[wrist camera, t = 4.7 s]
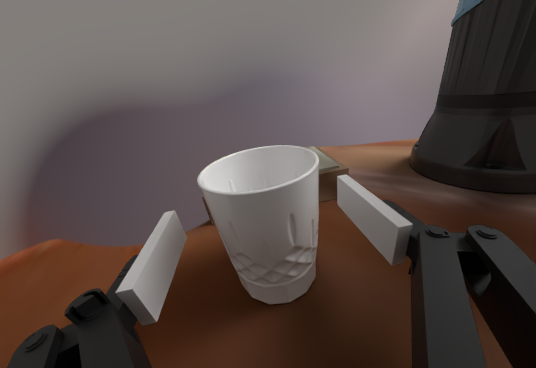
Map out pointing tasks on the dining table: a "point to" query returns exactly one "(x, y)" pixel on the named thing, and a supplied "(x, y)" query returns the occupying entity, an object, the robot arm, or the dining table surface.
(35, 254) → the dining table surface
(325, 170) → the board
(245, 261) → the white cup
